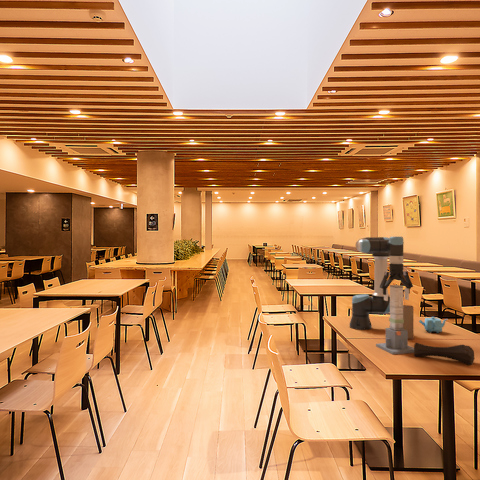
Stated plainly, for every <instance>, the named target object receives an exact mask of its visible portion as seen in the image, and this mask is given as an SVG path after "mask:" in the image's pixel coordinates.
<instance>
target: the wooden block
mask: <svg viewBox="0 0 480 480" xmlns="http://www.w3.org/2000/svg"><path fill="white" fill-rule="evenodd" d="M403 306H404V308H403V313H404V315H403V319H404V323H403V327H404V330H407V331H408V340H414V306H413V305H410V304H409V305H408V304H406V305H405V304H403Z"/></svg>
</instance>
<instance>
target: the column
mask: <svg viewBox="0 0 480 480" xmlns="http://www.w3.org/2000/svg"><path fill="white" fill-rule="evenodd" d="M389 297H390V305H389V306H390V312H389V313H388V314H389V318H388V321H389V327H388V328H390V329H391V330H394V331H403V329H404V327H403V323H404V319H403V315H404V313H403V308H404V306H403V305H404V285H401V284H390V285H389Z"/></svg>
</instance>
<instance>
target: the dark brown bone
mask: <svg viewBox="0 0 480 480" xmlns="http://www.w3.org/2000/svg"><path fill="white" fill-rule="evenodd" d="M413 348H414V353H413V356H414V357H418V358H420V357H440V358H447V359H450V360H454V361H458V362H460V363H462V364H465V365H467V366H472V365H473V364H474V361H475V350H474V349H473V348H472V347H471V346H470V345H465V344H459V345H453V346H452V345H451V346H444V347H443V346H442V347H441V346H440V347H439V346H431V345H427V344H422V343H418V342H415V343H414V347H413Z"/></svg>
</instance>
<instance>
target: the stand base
mask: <svg viewBox="0 0 480 480" xmlns="http://www.w3.org/2000/svg"><path fill="white" fill-rule="evenodd" d="M408 341H409V339H408V331H407V330H404V329H403V331H394V330H391V329H390V327H385V342H380V343H376V344H375V347H377V348H379V349H380V350H382V351H385V352H387V353H389V354H390V355H391V354H392V355H403V354H414V347H413V346H410V345H409V343H408Z"/></svg>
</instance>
